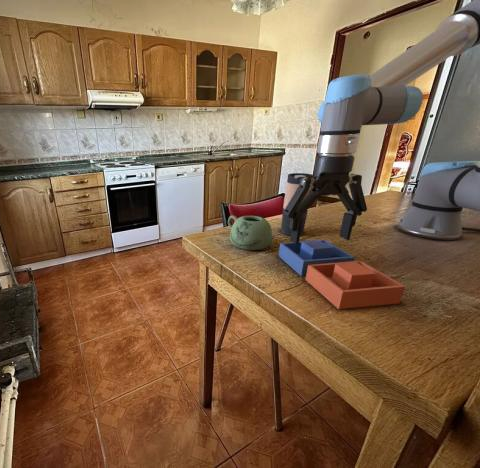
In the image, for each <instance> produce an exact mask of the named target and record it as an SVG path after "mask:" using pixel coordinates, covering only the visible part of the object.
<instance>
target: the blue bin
mask: <svg viewBox="0 0 480 468" xmlns="http://www.w3.org/2000/svg"><path fill="white" fill-rule="evenodd" d="M318 240H319V241H321V242H323V243H325V244H327V245H328V246H330V247H332V250H331V254H330V258H325V259H313V260H304V259H302V258H301V257H300V256H299V255H300V249H301V244H302V242H303V241H299V244H295V243H293V242H292V241H291V242H290V241H289V242H280V243H279V250H278V257H279V258H280V259H281V260H282V261H284V262H285V264H287V266H289V267H290V268H292V270H294V271H295V273H297V274H298V275H299V276H300V277H306V274H307V269H308V265H314V264H326V263H339V262H351V261H355V256H354V255H352V254H349V252H346V251H345V250H343V249H341V248H339V247H338V246H336V245H334V244H332V243H331V242H329V241H327V240H326V239H318Z"/></svg>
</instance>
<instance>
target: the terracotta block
mask: <svg viewBox="0 0 480 468" xmlns="http://www.w3.org/2000/svg"><path fill="white" fill-rule="evenodd" d="M374 275H375V273H373V272H371V271H370V270H368V269H366V268H365V267H363V266H361V265H360V264H358V263H343V264H335V268H334V272H333V277H332V282H333V283H335V284H336V285H337V286H339V287H340V288H341V289H343V290H352V289H363V288H371V285H372V282H373V279H374Z"/></svg>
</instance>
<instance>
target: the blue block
mask: <svg viewBox="0 0 480 468" xmlns="http://www.w3.org/2000/svg"><path fill="white" fill-rule="evenodd" d="M319 240H320V239H317V240H305V241H301V242H302V244H301V249H300V255H299V256H300V257H301V258H302V259H304V260H313V259H325V258H330V254H331V250H332V247H330V246H328V245H327V244H325V243H323V242H321V241H319Z"/></svg>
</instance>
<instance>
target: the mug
mask: <svg viewBox="0 0 480 468" xmlns="http://www.w3.org/2000/svg"><path fill="white" fill-rule="evenodd" d="M232 219H233V221H234V222H233V224H232ZM227 226H228V228H229V229H230V233H229V239H230V242H231V243H232V245H234V246H235V247H237V248H238V249H242V250H246V251H260V250H264V249H266V248H268V247H270V245H271V243H272V240H273V229H272V226H271V224H270V222H269V221H268V220H267V219H266V218H265V217H262V216H258V215H243V216H240V217H237V216H235V215H230V216H229V217H228V219H227Z"/></svg>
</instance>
